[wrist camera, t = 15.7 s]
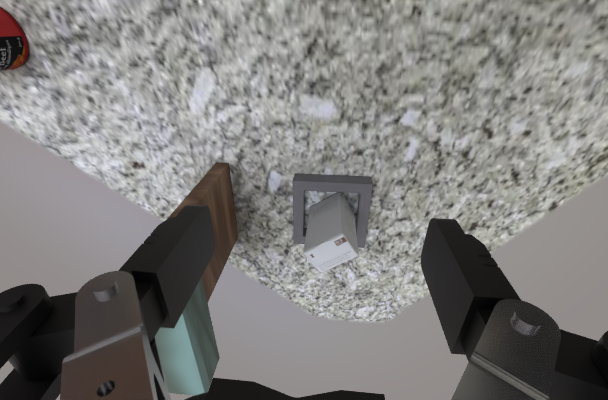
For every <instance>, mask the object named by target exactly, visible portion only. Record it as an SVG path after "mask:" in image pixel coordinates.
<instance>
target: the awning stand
mask: <svg viewBox="0 0 608 400" xmlns="http://www.w3.org/2000/svg"><path fill="white" fill-rule="evenodd" d="M185 205H203V206H208V207H209V209H210V213H211V219H212V225H213V230H214V236H215V250H214V254H213V256H212V258H211V260H210V262H209V264H208V266H207V268H206V269H205V271H204V273H203V275H202V277H201V279H200V281H199V283H198V284H197V286H196V288H195V290H194V292H193V294H192V296H191V298H190V299H189V301H188V303H187V305H186V307H185V309H184V311H183V313H182V314H181V316H180V318H179V320H178V322H177V324H176V326H175V328H174V329H173V328H161V327H160V328H159V330H158V332H157V334H156V335H155V338H156V340H157V344H158V348H159V353H160V357H161V361H162V366H163V370H164V374H165V379H166V383H167V387H168V391H169V393H176V394H186V395H198V394H202V393H206V392H208V389H209V386H210V383H211V381H212V378H213V375H214V372H215V369H216V366H217V363H218V360H219V354H218V349H217V345H216V340H215V335H214V331H213V326H212V322H211V317H210V313H209V308H208V301H209V299H210V296H211V294H212V292H213V290H214V288H215V286H216V283H217V281H218V279H219V277H220V275H221V273H222V270H223V268H224V266H225V264H226V262H227V260H228V257H229V255H230V253H231V251H232V249H233V247H234V244H235V242H236V240H237V238H238V233H237V225H236V217H235V209H234V201H233V193H232V185H231V178H230V170H229V163H215V165H214V166H213V167H212V168H211V169H210V170H209V171H208V173H207V174H206V175H205V176H204V177H203V178H202V180H201V181H200V182H199V183H198V184H197V185H196V186H195V188H194V189H193V190H192V191H191V192H190V193H189V195H188V196H187V197H186V198H185V199H184V200H183V202H182V203H181V204H180V205H179V206H178V207H177V208H176V210H175V211H174V212H173V213H172V214H171V215H170V217H169V218H171V217H176V216H177V215H178V213H179V212H180V211H181V210H182V209H183V207H184V206H185ZM169 218H168V219H169ZM168 219H167V220H168Z"/></svg>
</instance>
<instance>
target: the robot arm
mask: <svg viewBox="0 0 608 400" xmlns="http://www.w3.org/2000/svg"><path fill="white" fill-rule="evenodd" d="M214 250H215V236H214V230H213V225H212V219H211V213H210V209H209V207H208V206H203V205H185V206H184V207H183V209H182V210H181V211H180V212H179V213H178V215H177V216H176V217H171V218H169V219H168V220H166V221H164V222H163V223H161V224H160V225H158V226H157V228H156V229H155V230H154V231H153V232H152V233H151V236H149V237H148V238H147V239H146V240H145V241H144V244H142V245H141V246H140V247H139V248H138V249H137V250H136V251H135V252H134V254H133V255H132V256H131V257H130V258H129V259H128V261H127V262H126V263H125V264H124V265H123V266H122V267H121V268H120V270H119V271H114V272H108V273H104V274H102V275H99V276H97V277H95V278H93V279H91V280H90V281H88V282H87V283H86V284H85V285H84V286H82V288H81V289H80V290H79V291H78V292H77V293H70V294H65V295H58V296H52V297H49V296H48V294H47V292H46V290H45V289H44V287H43V286H41V285H38V284H25V285H20V286H17V287H13V288H11V289H8V290H6V291H4V292H2V293H0V368H1V367H2V366H3V365H4V364H5V363H6V362H7V361H9V362H10V363H11V364H12V366H13V367H14V369H13V371H12V372H11V373H10V374H9V375H8V376H7V377H6V378H5V380H4V381H3V382H2V383H1V384H0V400H56V398H57V397H58V396H59V394H60V400H171V399H170V395H169V391H168V387H167V383H166V379H165V374H164V370H163V366H162V361H161V357H160V353H159V348H158V344H157V340H156V338H155V335H156V334H157V332H158V330H159V328H160V327H161V328H173V329H174V328H175V326H176V324H177V322H178V320H179V318H180V316H181V314H182V313H183V311H184V309H185V307H186V305H187V303H188V301H189V299H190V298H191V296H192V294H193V292H194V290H195V288H196V286H197V284H198V283H199V281H200V279H201V277H202V275H203V273H204V271H205V269H206V268H207V266H208V264H209V262H210V260H211V258H212V256H213V254H214ZM421 267H422V271H423V274H424V277H425V280H426V283H427V286H428V288H429V291H430V294H431V297H432V300H433V303H434V306H435V308H436V311H437V314H438V317H439V320H440V322H441V326H442V328H443V331H444V334H445V337H446V340H447V343H448V346H449V348H450V351H451V353H452V354H464V355H466V356H467V359H468V361H469V363H468V365H467V367H466V369H465V371H464V373H463V376H462V378H461V380H460V382H459V384H458V386H457V388H456V391H455V393H454V395H453V397H452V399H451V400H608V331H607V332H606V333H604V335H603V336H602V337H601V338H600V340H599V341H596V340H593V339H589V338H586V337H583V336H580V335H576V334H573V333H570V332H566V331H564V330H561V329H559V327H558V325H557V324H556V322H555V321H554V320H553V319H552V318H551V317H550V316H549V315H548V314H547V313H545V312H544V311H543V310H541V309H540V308H538V307H536V306H534V305H532V304H530V303H528V302H525V301H521V299H520V298H519V296H518V295H517V293H516V292H515V290H514V289H513V287H512V286H511V285H510V283H509V281H508V280H507V278H506V277H505V275H504V274H503V272H502V271H501V269H500V268H499V267H497V263H496V262H495V260H494V259H493V258H491V254H490V253H489V251H488V250H487V248H486V247H485V245H484V244H483V243H481V242H480V241H479V240H477V239H476V238H475V237H474V236H472V235H469V234H465V233H464V232H463V230H462V228H461V227H460V225H459V224H458V222H457V221H456V220H455V219H437V218H432V219H431V220H430V222H429V226H428V230H427V234H426V237H425V241H424V245H423V249H422V254H421ZM185 400H385V397H384V394H375V393H365V392H354V391H344V390H340V391H334V392H328V393H322V394H317V395H312V396H306V397H300V398H294V397H291V396H288V395H285V394H283V393H281V392H278V391H276V390H273V389H271V388H268V387H266V386H263V385H261V384H258V383H256V382H251V381H240V380H230V379H220V378H213V379H212V382H211V385H210V388H209V391H208V392H206V393H202V394H198V395H195V396H192V397H190V398H187V399H185Z"/></svg>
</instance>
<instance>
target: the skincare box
mask: <svg viewBox="0 0 608 400" xmlns="http://www.w3.org/2000/svg"><path fill="white" fill-rule="evenodd" d="M304 254H305V255H306V257H307V258H308V259H309V260H310V261H311V263H312V264H313V265H314V266H315V267H316V268H317V270H318V271H319V272H320V273H322V272H324V271H326V270H329V269H331V268H333V267H335V266H337V265H339V264H341V263H344V262H346V261H348V260H350V259H352V258H355V257H357V256H358V255H359V253H358V244H357V235H356V227H355V217H354V210H353V208H352V207H351V205H350V204H349V202H348V201H347V200H346V198H345V197H344V195H343V193H342V192H338V193H336V194H334V195H332V196H330V197H329V198H327V199H325V200H323V201H321V202H319V203H317V204H316V205H314V206H312V207H310V210H309V217H308V224H307V231H306V238H305V246H304Z"/></svg>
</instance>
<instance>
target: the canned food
mask: <svg viewBox="0 0 608 400" xmlns="http://www.w3.org/2000/svg"><path fill="white" fill-rule="evenodd" d="M27 57H28V44H27V40H26V37H25V35H24V33H23V31H22V29H21V28H20V26H19V25H18V23H17V22H16V21H15V20H14V18H13V17H12V16H11V15H10V14H8V13H7V12H6V11H5V10H3V9H2V8H0V71H1V70H8V69H15V68H17V67H19V66H21V65H22V64H23V63H24V62H25V61H26V59H27Z"/></svg>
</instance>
